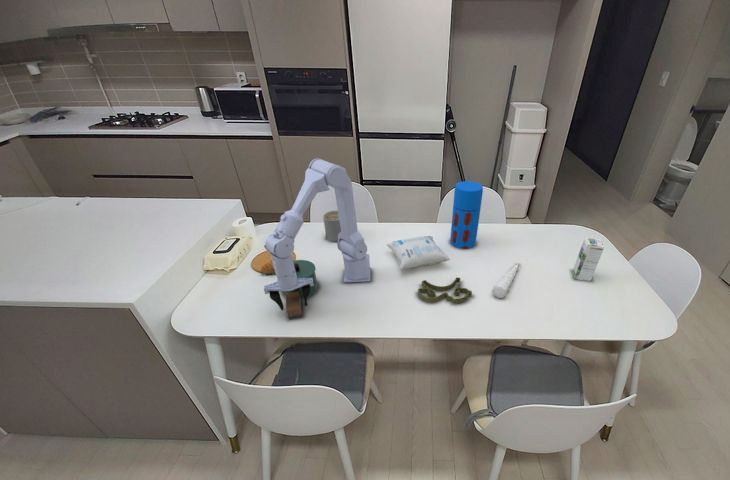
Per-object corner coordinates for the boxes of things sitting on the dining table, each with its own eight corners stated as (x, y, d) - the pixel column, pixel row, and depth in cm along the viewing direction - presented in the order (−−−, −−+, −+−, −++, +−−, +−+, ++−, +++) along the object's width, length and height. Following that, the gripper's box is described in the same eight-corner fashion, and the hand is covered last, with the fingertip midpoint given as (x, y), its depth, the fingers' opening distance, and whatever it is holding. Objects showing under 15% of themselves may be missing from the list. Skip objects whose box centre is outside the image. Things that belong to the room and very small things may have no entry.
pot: (319, 278, 128) (316, 261, 124) (315, 298, 119) (311, 280, 115) (287, 279, 127) (282, 262, 123) (280, 299, 118) (275, 282, 114)
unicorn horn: (527, 268, 134) (530, 257, 131) (503, 300, 118) (505, 289, 116) (515, 264, 136) (517, 253, 133) (490, 295, 121) (492, 284, 118)
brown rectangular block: (302, 317, 111) (300, 308, 109) (288, 319, 110) (286, 310, 108) (300, 300, 118) (298, 291, 116) (287, 302, 117) (285, 293, 115)
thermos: (477, 249, 145) (485, 191, 130) (451, 249, 145) (456, 191, 130) (473, 236, 154) (480, 181, 139) (449, 236, 154) (454, 180, 139)
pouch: (433, 228, 143) (386, 233, 138) (452, 252, 129) (400, 259, 124) (431, 244, 148) (386, 250, 143) (449, 269, 134) (399, 277, 129)
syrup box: (572, 270, 133) (583, 237, 124) (588, 272, 132) (601, 238, 123) (574, 279, 128) (586, 245, 120) (591, 281, 127) (605, 247, 119)
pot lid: (317, 261, 125) (316, 254, 123) (313, 282, 115) (311, 274, 113) (281, 263, 124) (279, 255, 122) (273, 284, 114) (271, 276, 112)
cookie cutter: (464, 281, 127) (465, 276, 126) (473, 302, 118) (474, 297, 116) (415, 285, 125) (415, 280, 124) (421, 306, 116) (421, 302, 114)
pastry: (265, 278, 128) (262, 269, 126) (259, 270, 132) (256, 261, 130) (290, 269, 133) (287, 260, 130) (282, 261, 137) (280, 253, 135)
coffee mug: (324, 241, 149) (321, 220, 143) (328, 230, 157) (325, 210, 151) (356, 241, 150) (353, 220, 144) (358, 230, 158) (356, 210, 152)
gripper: (309, 260, 110) (315, 294, 118) (260, 268, 106) (270, 302, 115) (311, 273, 105) (317, 307, 113) (259, 281, 101) (270, 316, 109)
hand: (294, 306), depth 113 cm, fingers open, 7 cm apart
